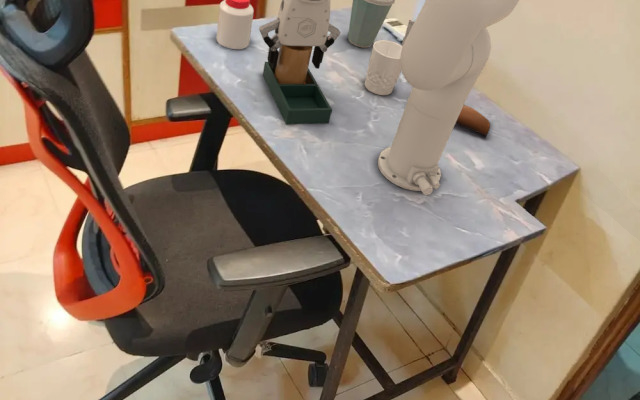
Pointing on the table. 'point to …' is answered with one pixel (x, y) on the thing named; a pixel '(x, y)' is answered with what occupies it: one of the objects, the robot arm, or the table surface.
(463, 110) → the sunglasses case
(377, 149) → the table surface
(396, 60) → the white cup
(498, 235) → the table surface
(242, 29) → the pill bottle
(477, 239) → the table surface
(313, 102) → the divided tray
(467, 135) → the table surface
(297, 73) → the wooden cup
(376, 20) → the disposable coffee cup
